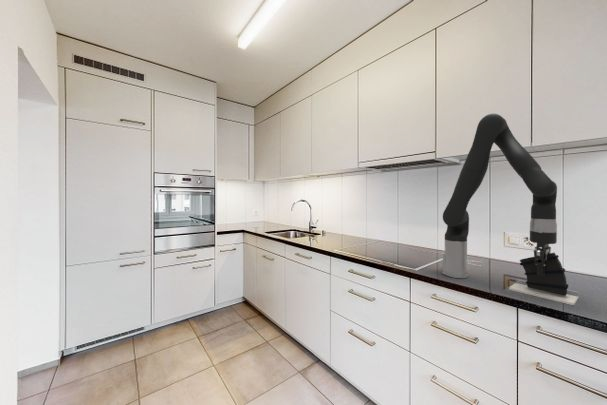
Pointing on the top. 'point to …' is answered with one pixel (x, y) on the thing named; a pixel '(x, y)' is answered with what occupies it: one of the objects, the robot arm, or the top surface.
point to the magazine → (546, 275)
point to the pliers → (474, 261)
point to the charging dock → (545, 293)
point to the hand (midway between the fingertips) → (542, 273)
